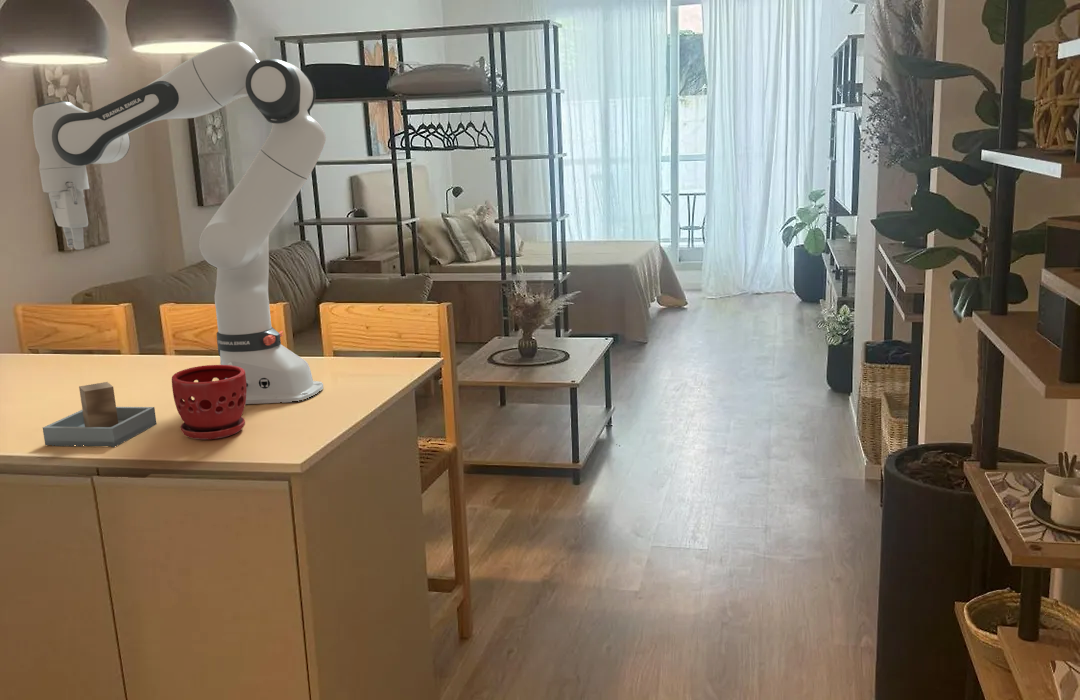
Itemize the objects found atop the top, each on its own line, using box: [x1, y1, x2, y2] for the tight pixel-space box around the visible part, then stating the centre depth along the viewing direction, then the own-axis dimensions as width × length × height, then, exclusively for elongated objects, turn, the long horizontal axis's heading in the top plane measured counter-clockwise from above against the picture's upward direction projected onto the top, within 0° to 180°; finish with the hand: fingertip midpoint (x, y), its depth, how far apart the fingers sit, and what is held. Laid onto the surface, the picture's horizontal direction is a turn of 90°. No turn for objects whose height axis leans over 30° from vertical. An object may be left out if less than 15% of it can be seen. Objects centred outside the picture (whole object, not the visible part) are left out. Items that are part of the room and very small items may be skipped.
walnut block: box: [78, 381, 118, 427], centre depth 178 cm, size 5×5×8 cm
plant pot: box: [171, 364, 246, 441], centre depth 177 cm, size 13×13×12 cm
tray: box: [42, 406, 157, 448], centre depth 179 cm, size 14×14×4 cm
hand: (76, 248), depth 200 cm, fingers open, 8 cm apart
